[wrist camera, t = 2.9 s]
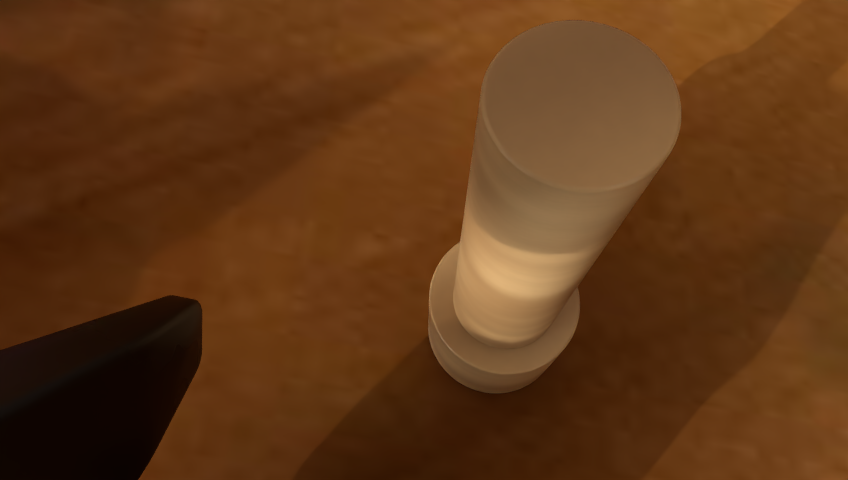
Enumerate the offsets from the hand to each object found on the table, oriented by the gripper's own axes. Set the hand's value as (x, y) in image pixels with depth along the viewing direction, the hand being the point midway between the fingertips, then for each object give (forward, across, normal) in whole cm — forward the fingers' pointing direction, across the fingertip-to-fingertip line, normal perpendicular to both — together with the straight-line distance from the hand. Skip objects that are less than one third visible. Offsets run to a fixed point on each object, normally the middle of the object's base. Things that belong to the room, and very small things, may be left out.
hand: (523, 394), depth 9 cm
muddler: (+10, 0, +5) cm, 11 cm away
